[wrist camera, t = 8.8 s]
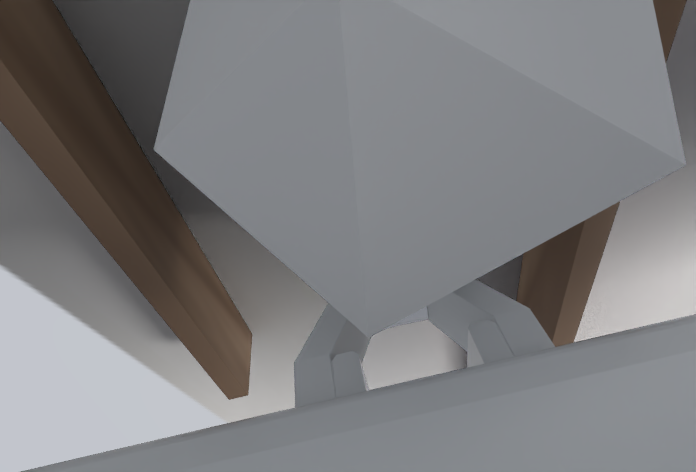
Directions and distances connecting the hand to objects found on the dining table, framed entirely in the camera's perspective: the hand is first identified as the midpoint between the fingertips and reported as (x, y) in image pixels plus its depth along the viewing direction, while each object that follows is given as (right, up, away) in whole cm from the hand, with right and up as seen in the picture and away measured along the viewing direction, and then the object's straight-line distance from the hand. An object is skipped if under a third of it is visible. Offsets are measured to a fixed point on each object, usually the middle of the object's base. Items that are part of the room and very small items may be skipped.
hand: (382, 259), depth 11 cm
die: (-1, +6, 0) cm, 6 cm away
